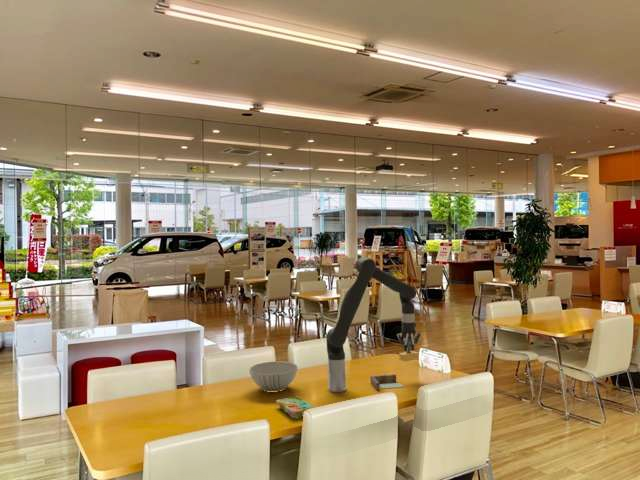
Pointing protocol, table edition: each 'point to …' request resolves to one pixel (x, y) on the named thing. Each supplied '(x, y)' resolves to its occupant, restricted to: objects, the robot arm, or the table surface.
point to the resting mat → (390, 385)
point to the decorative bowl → (273, 375)
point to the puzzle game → (294, 406)
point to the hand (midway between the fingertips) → (408, 350)
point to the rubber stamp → (408, 353)
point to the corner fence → (382, 380)
